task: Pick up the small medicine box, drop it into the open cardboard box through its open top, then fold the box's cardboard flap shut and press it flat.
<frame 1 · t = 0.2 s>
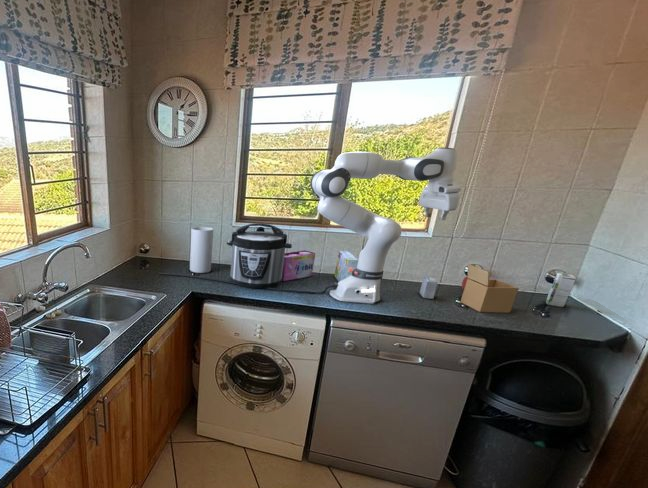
hand: (434, 218, 181), 38 cm above the worktop, tool pointing down, fingers open, 8 cm apart
flap: (477, 274, 179), point 15 cm above the worktop, hinge at 105.0°
syrup box: (554, 304, 189), on the worktop
open cardboard box: (484, 307, 185), on the worktop
gum box: (292, 277, 228), on the worktop
vegetable: (471, 293, 203), on the worktop
snack box: (343, 282, 220), on the worktop
cylinder vase: (200, 271, 239), on the worktop
medicine box: (425, 296, 199), on the worktop
pressure cooker: (254, 283, 217), on the worktop
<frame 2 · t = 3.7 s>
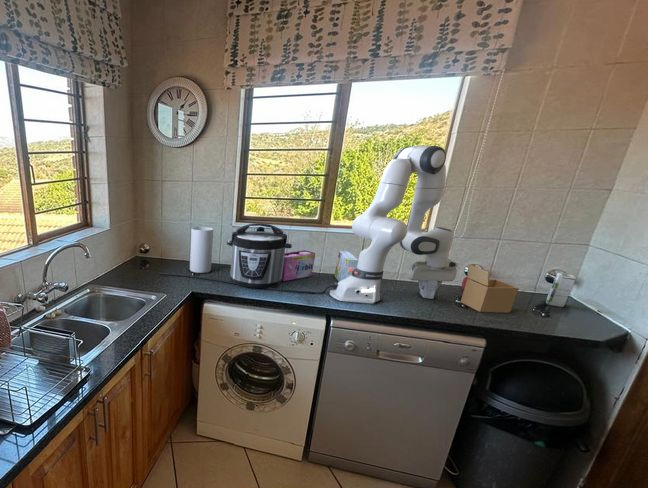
hand: (428, 289, 197), 4 cm above the worktop, tool pointing down, fingers closed on medicine box, 5 cm apart
medicine box: (425, 296, 199), on the worktop, touching gripper
everything else where it was.
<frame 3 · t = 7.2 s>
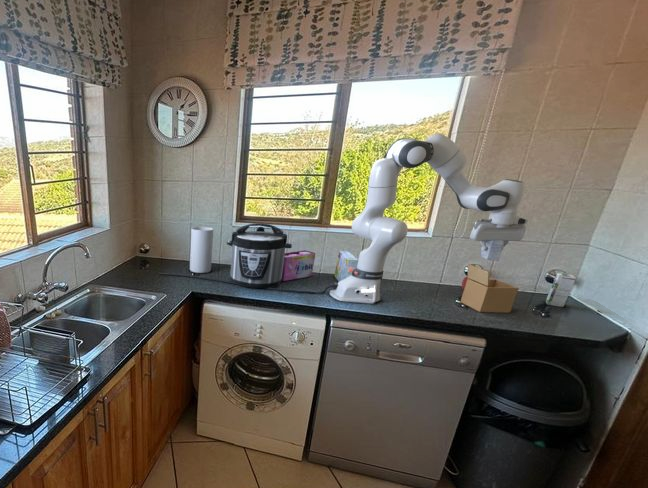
hand: (491, 250, 178), 26 cm above the worktop, tool pointing down, fingers closed on medicine box, 5 cm apart
medicine box: (488, 259, 179), point 22 cm above the worktop, touching gripper
everything else where it was.
when the fingers open (13 cm above the worktop, at t = 11.1 s): medicine box drops 9 cm, resting on open cardboard box.
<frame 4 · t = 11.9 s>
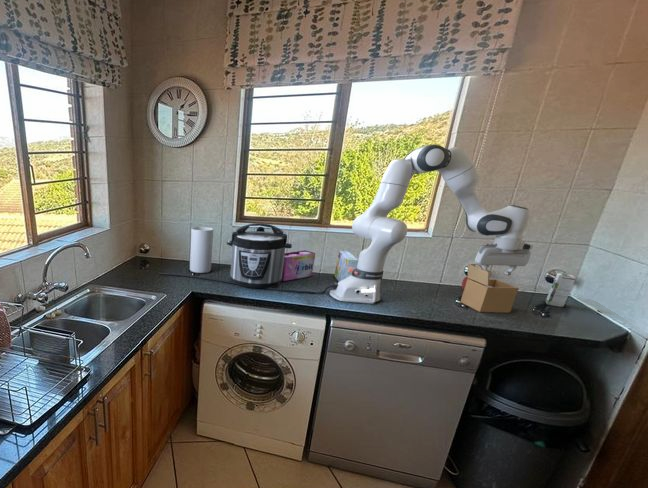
hand: (496, 274, 179), 16 cm above the worktop, tool pointing down, fingers open, 8 cm apart
medicine box: (485, 306, 185), resting on open cardboard box
everything else where it was.
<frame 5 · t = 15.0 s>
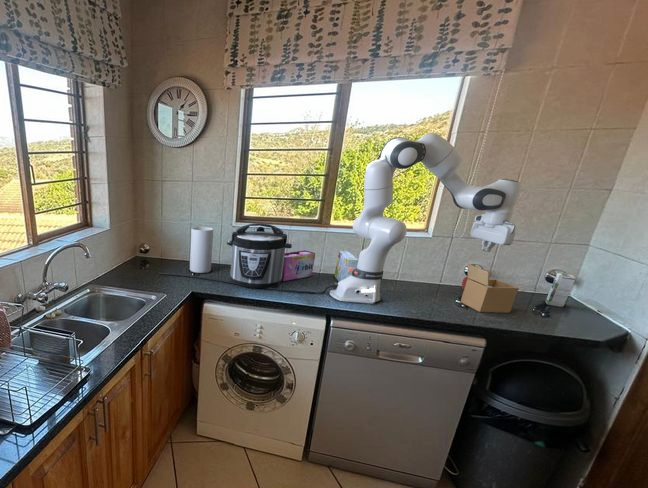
hand: (485, 251, 176), 26 cm above the worktop, tool pointing down, fingers closed
nothing on the worktop moved.
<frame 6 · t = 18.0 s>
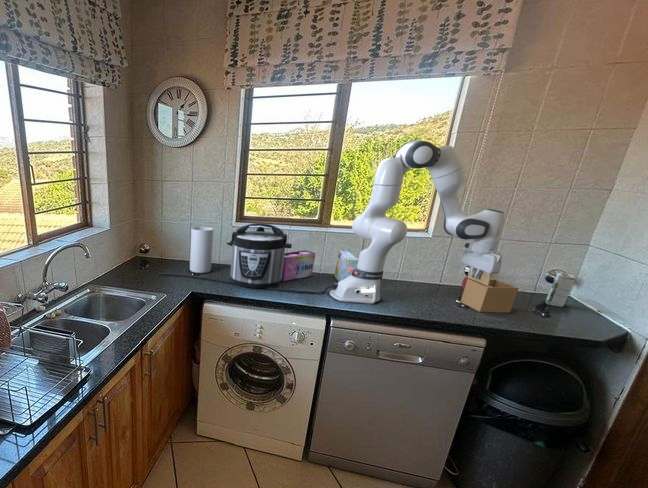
hand: (474, 277, 180), 14 cm above the worktop, tool pointing down, fingers closed, pressing on flap
flap: (479, 274, 179), point 15 cm above the worktop, hinge at 95.2°, touching gripper
everything else where it was.
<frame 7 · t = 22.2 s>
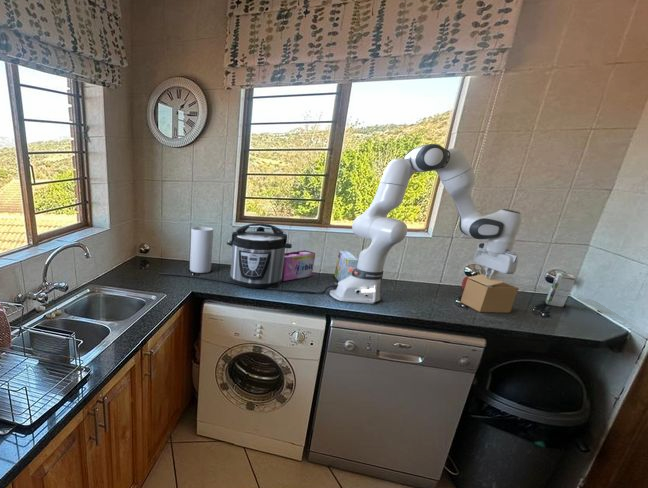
hand: (489, 278, 180), 14 cm above the worktop, tool pointing down, fingers closed, pressing on flap
flap: (485, 280, 180), point 13 cm above the worktop, hinge at 15.5°, touching gripper
everything else where it was.
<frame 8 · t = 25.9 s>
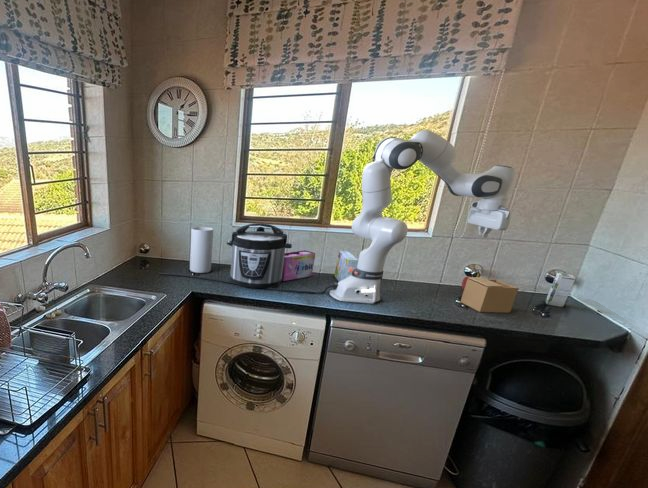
hand: (482, 237, 179), 31 cm above the worktop, tool pointing down, fingers closed
flap: (485, 281, 180), point 12 cm above the worktop, hinge at -0.1°
everything else where it was.
at the end: medicine box inside the target area in the open cardboard box (0.4 cm from its centre), point 0.3 cm above the open cardboard box's base; flap at +0° (first picture: +105°) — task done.
